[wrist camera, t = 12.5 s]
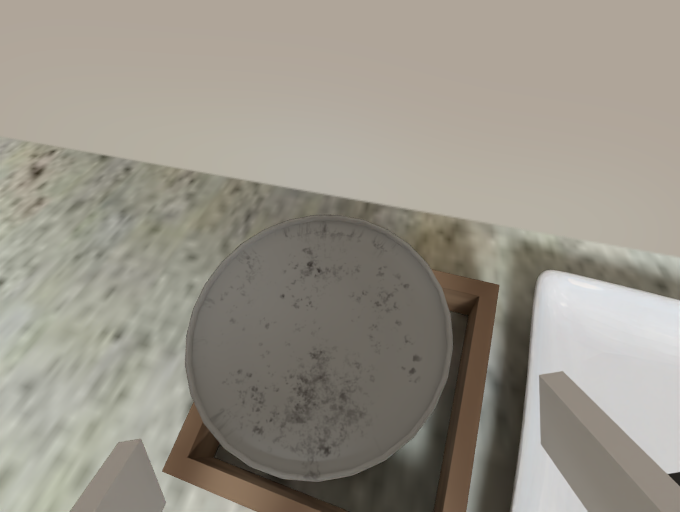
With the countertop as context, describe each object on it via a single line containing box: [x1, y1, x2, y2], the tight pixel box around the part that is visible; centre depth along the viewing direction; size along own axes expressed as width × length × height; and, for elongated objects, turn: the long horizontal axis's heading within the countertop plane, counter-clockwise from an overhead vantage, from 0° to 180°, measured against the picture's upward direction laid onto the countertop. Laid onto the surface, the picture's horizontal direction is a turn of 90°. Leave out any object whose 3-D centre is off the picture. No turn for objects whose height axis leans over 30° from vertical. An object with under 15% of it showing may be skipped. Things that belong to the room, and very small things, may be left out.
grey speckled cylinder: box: [185, 215, 453, 482], centre depth 19 cm, size 10×10×12 cm
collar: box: [162, 269, 499, 512], centre depth 23 cm, size 15×15×4 cm
